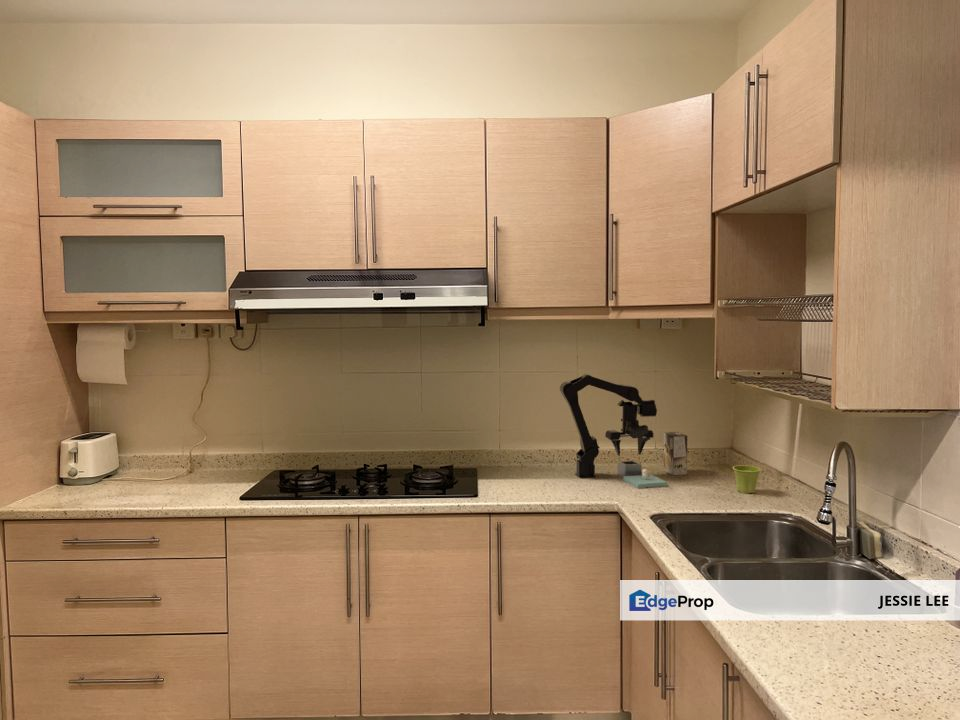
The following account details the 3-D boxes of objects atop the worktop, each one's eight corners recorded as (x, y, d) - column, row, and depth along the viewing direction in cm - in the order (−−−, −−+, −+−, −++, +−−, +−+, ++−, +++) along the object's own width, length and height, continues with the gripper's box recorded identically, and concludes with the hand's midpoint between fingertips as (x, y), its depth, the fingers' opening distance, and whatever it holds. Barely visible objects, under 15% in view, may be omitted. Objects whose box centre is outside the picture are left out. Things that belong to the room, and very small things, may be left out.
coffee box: (687, 474, 253) (688, 435, 252) (673, 475, 252) (673, 436, 251) (676, 469, 262) (677, 431, 261) (662, 470, 261) (663, 432, 260)
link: (625, 477, 249) (625, 465, 249) (617, 473, 256) (617, 461, 256) (641, 476, 251) (641, 464, 250) (633, 472, 258) (633, 460, 257)
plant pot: (757, 496, 222) (758, 472, 221) (729, 492, 227) (730, 469, 226) (762, 490, 229) (762, 467, 229) (734, 486, 235) (735, 464, 234)
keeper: (637, 488, 234) (638, 473, 233) (623, 480, 245) (623, 466, 245) (666, 486, 236) (667, 471, 236) (651, 478, 248) (651, 464, 248)
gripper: (617, 421, 242) (616, 460, 243) (660, 419, 246) (660, 458, 247) (605, 416, 253) (604, 454, 254) (647, 414, 257) (646, 452, 258)
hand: (629, 455), depth 253 cm, fingers open, 9 cm apart
